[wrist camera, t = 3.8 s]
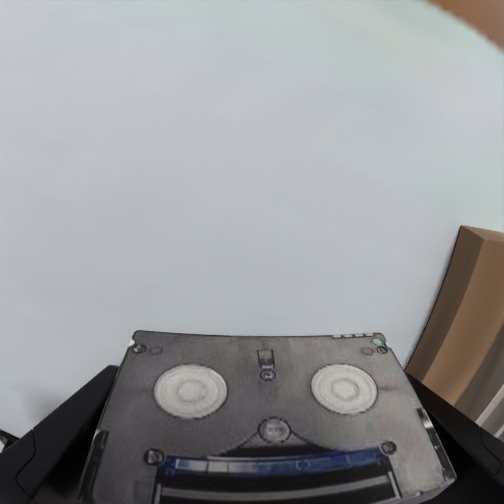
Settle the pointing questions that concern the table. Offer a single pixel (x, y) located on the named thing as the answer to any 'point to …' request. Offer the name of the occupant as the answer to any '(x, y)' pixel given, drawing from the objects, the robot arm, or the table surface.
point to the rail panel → (468, 332)
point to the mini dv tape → (263, 424)
